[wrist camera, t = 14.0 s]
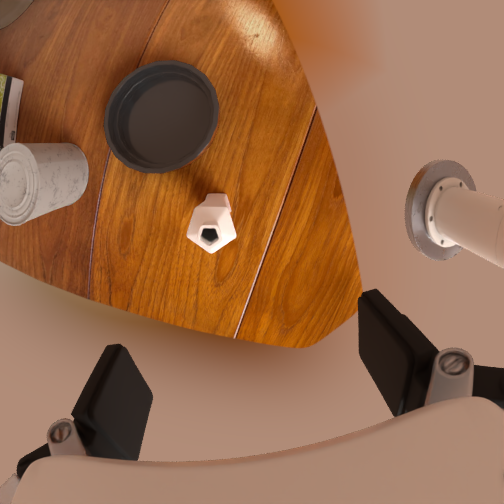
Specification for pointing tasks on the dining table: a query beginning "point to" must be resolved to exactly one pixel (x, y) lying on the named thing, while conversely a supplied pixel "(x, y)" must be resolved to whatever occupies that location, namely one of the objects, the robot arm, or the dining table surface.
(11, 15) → the flower pot
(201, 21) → the dining table surface
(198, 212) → the white faceted vase
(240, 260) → the dining table surface
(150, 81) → the bowl
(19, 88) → the tea box
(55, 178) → the marbled tin can
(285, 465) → the robot arm
